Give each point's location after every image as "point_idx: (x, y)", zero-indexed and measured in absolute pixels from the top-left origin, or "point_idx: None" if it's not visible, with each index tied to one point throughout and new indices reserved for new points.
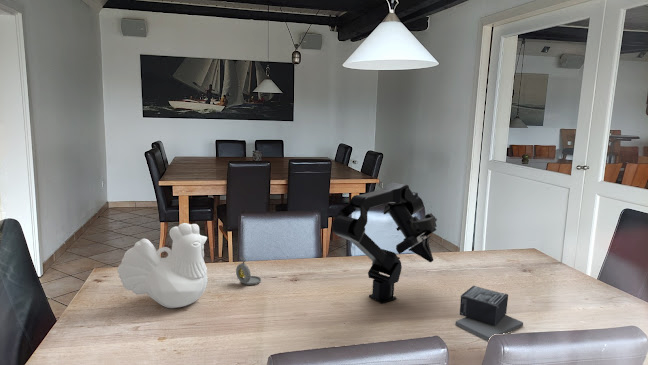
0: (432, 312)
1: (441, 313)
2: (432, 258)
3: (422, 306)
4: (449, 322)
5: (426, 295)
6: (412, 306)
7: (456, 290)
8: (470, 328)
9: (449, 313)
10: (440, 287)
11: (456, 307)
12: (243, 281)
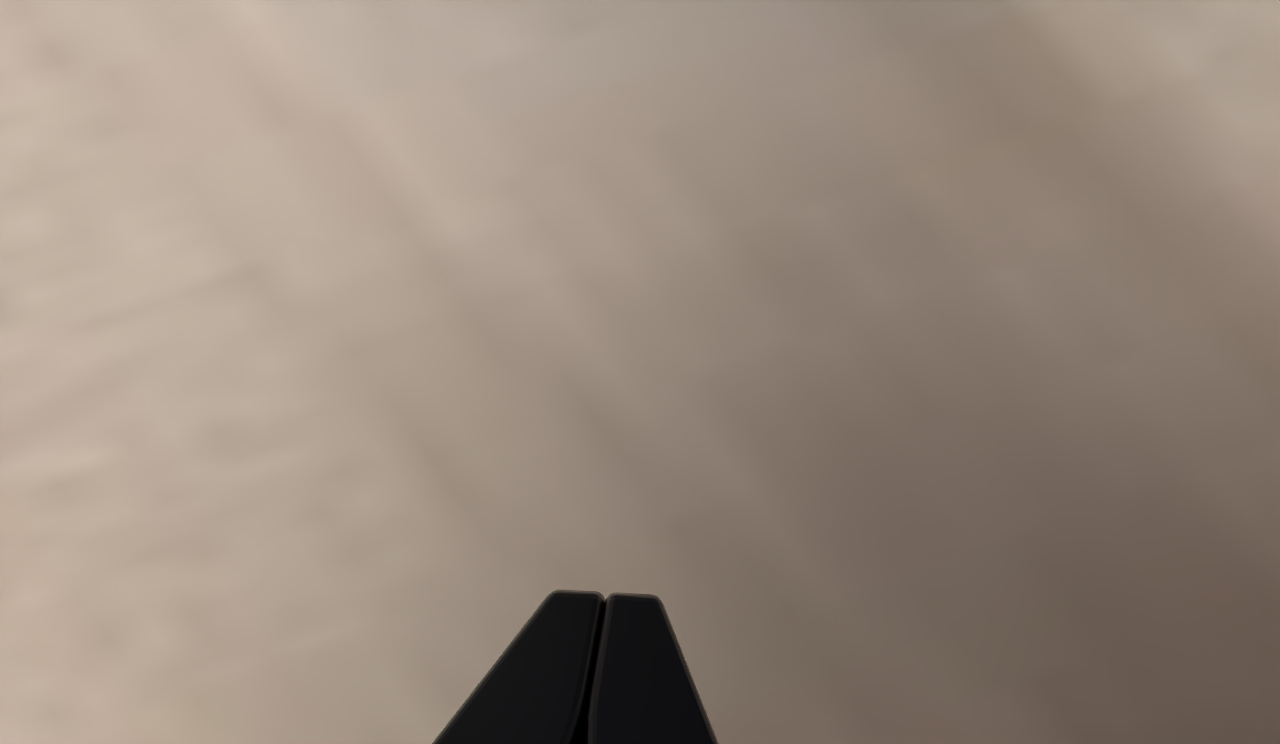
0: (1089, 359)
1: (1030, 230)
2: (572, 637)
3: (975, 576)
4: (1259, 26)
5: None
6: (1087, 720)
7: (19, 329)
8: None
9: (947, 131)
10: (41, 590)
11: (663, 117)
12: None
